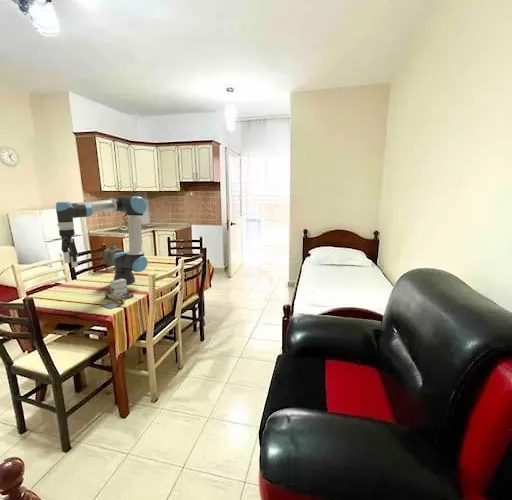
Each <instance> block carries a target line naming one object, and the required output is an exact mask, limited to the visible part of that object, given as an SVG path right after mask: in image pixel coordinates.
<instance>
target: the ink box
mask: <svg viewBox="0 0 512 500" xmlns="http://www.w3.org/2000/svg"><path fill="white" fill-rule="evenodd" d="M113 280H114V279H113ZM113 280H110V282H109V283H110V289H111V294H112V295H115V296H118V297H120V298H121V296H124V297H125V296H127V292H128V290H127V289H128V288H127V287H128V286H127V285H128V284H127V285H126V280H125V279H118V280H114V281H113Z"/></svg>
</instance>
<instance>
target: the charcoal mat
mask: <svg viewBox="0 0 512 500" xmlns="http://www.w3.org/2000/svg"><path fill="white" fill-rule="evenodd" d="M122 305H123V303H120V302H117V301H110V302H108V303H105V304H102V305H100V307H102V308H106V309H109V310H111V309H114V308H117V307H120V306H122Z"/></svg>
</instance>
